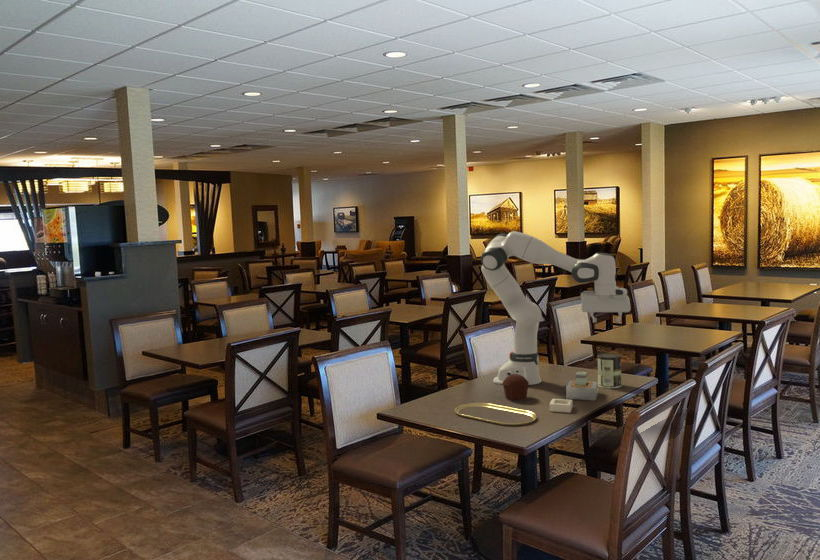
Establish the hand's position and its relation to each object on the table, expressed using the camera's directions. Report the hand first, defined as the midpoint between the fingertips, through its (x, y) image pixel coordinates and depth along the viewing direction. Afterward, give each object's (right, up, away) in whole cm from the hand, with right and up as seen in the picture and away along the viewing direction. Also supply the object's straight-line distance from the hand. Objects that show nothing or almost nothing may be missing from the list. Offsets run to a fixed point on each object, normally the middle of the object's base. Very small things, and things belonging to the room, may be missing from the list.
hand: (606, 322), depth 276 cm
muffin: (-38, -33, +2) cm, 51 cm away
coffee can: (+6, -30, +16) cm, 35 cm away
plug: (-10, -31, +1) cm, 32 cm away
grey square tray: (-23, -34, -18) cm, 45 cm away
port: (-10, -32, +1) cm, 33 cm away
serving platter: (-51, -36, -22) cm, 66 cm away
